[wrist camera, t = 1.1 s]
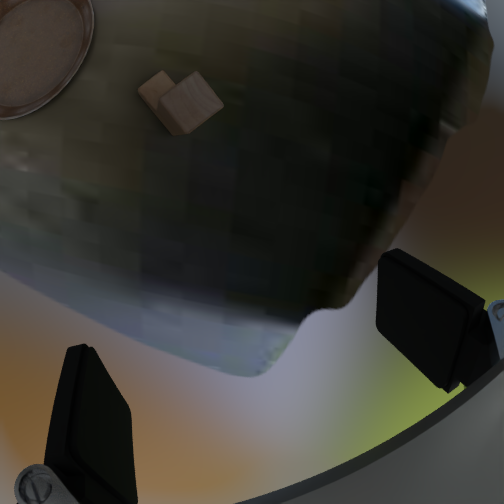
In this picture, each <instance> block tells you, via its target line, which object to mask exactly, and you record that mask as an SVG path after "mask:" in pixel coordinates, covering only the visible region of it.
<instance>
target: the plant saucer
mask: <svg viewBox="0 0 504 504" xmlns="http://www.w3.org/2000/svg"><path fill="white" fill-rule="evenodd" d="M93 30H94V12H93V7H92V4H91V1H90V0H0V120H9V119H14V118H18V117H21V116H24V115H27V114H29V113H31V112H33V111H35V110H37V109H39V108H40V107H42V106H43V105H45V104H46V103H47V102H49V101H50V100H51V99H53V98H54V97H55V96H56V95H57V94H58V93H59V92H60V91H61V90H62V89H63V88H64V87H65V86H66V85H67V84H68V82H69V81H70V80H71V79H72V77H73V76H74V75H75V73H76V72H77V70H78V69H79V67H80V65H81V63H82V62H83V60H84V58H85V56H86V53H87V51H88V49H89V46H90V43H91V39H92V35H93Z"/></svg>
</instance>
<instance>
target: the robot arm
mask: <svg viewBox="0 0 504 504" xmlns="http://www.w3.org/2000/svg"><path fill="white" fill-rule="evenodd" d="M484 304H485V300H484V299H483V298H481V297H480V296H478V295H476V294H475V293H473V292H472V291H470V290H468V289H467V288H465V287H464V286H462V285H460V284H459V283H457V282H455V281H454V280H452V279H451V278H449V277H447V276H445V275H444V274H442V273H441V272H439V271H437V270H435V269H434V268H432V267H430V266H429V265H427V264H425V263H423V262H422V261H420V260H418V259H416V258H415V257H413V256H411V255H409V254H408V253H406V252H404V251H402V250H401V249H398V248H396V249H393V250H390V251H387V252H385V253H383V254H382V255H381V258H380V259H379V261H378V285H377V311H376V327H377V329H378V331H379V332H380V333H381V334H382V335H383V336H384V337H385V338H386V339H387V340H388V341H390V343H391V344H392V345H394V346H395V347H396V348H397V349H398V350H399V351H400V352H401V353H402V354H403V355H404V356H405V357H406V358H407V359H408V360H409V361H410V362H411V363H413V365H414V366H416V367H417V368H418V369H419V370H420V371H421V372H422V373H423V374H424V375H425V376H426V377H427V378H428V379H429V380H430V381H431V382H432V383H433V384H434V385H435V386H436V387H438V388H442V389H443V390H444V391H446V392H447V393H450V392H451V391H452V390H454V389H455V388H456V387H458V386H459V383H460V382H461V383H462V384H463V385H464V390H463V391H462V392H460V393H459V394H458V395H456V396H455V397H454V398H452V399H451V400H450V401H448V402H447V403H445V404H444V405H442V406H441V407H440V408H438V409H437V410H435V411H434V412H432V413H431V414H429V415H428V416H426V417H425V418H423V419H422V420H420V421H419V422H417V423H415V424H414V425H412V426H411V427H409V428H407V429H406V430H404V431H402V432H401V433H399V434H397V435H396V436H394V437H392V438H391V439H389V440H387V441H386V442H383V443H382V444H380V445H378V446H376V447H374V448H373V449H371V450H369V451H367V452H365V453H363V454H361V455H359V456H357V457H355V458H353V459H351V460H349V461H347V462H345V463H343V464H341V465H338V466H336V467H334V468H332V469H330V470H327V471H325V472H323V473H320V474H318V475H316V476H313V477H311V478H308V479H306V480H303V481H301V482H298V483H295V484H293V485H290V486H288V487H285V488H282V489H279V490H277V491H273V492H271V493H268V494H265V495H262V496H258V497H255V498H252V499H249V500H246V501H242V502H238V503H235V504H504V300H496V301H494V302H492V303H491V304H490V305H489V307H488V309H487V311H486V310H484V309H483V308H484ZM132 440H133V439H132V418H131V411H130V408H129V406H128V404H127V402H126V401H125V399H124V398H123V396H122V395H121V393H120V391H119V390H118V388H117V387H116V385H115V383H114V382H113V380H112V378H111V377H110V375H109V374H108V372H107V370H106V368H105V367H104V365H103V363H102V361H101V359H100V358H99V356H98V354H97V353H96V351H95V349H94V348H93V347H88V346H87V345H86V344H80V345H76V346H72V347H69V348H68V349H67V352H66V355H65V359H64V363H63V367H62V371H61V375H60V379H59V383H58V388H57V392H56V396H55V400H54V405H53V410H52V415H51V420H50V426H49V432H48V437H47V444H46V450H45V458H44V465H43V464H34V465H30V466H28V467H27V468H25V469H24V470H23V471H22V472H21V473H20V474H19V475H18V477H17V479H16V482H15V486H14V492H15V497H16V499H17V501H18V503H17V504H137V503H138V497H137V488H136V478H135V468H134V454H133V441H132Z"/></svg>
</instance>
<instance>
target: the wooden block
mask: <svg viewBox="0 0 504 504" xmlns="http://www.w3.org/2000/svg"><path fill="white" fill-rule="evenodd" d="M137 90H138V93H139V96H140V97H141V98H142V99H143V100H144V102H145V103H146V104H147V105H148V106H149V108H150V109H151V110H152V111H153V112H154V114H155V115H156V116H157V117H158V119H159V120H160V121H161V122H162V123H163V125H164V126H165V127H166V128H167V130H168V131H169V132H170V133H171V134H172V136H177V135H182V134H189V133H191V132H192V131H193V130H194V129H196V128H197V127H198V126H200V125H201V124H202V123H203V122H205V121H206V120H207V119H209V118H210V117H211V116H213V115H214V114H215V113H217V112H218V111H220V110H221V109H222V108H223V107H224V104H223V103H222V101H221V100H220V99H219V97H218V96H217V95H216V94H215V92H214V91H213V90H212V89H211V87H210V86H209V85H208V83H207V82H206V81H205V80H204V78H203V77H202V76H201V75H200V73H199V72H197V71H195V72H193V73H192V74H190V75H189V76H187V77H186V78H184V79H183V80H182V81H180V82H179V83H178V84H175V83H174V82H173V81H172V80H171V79H170V77H169V76H168V75H167V74H166V73H165V71H163V70H161V71H160V72H158V73H157V74H156V75H154V76H153V77H152V78H150V79H149V80H148V81H146V82H145V83H144V84H142V85H141V86H140V87H139V88H138V89H137Z"/></svg>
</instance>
